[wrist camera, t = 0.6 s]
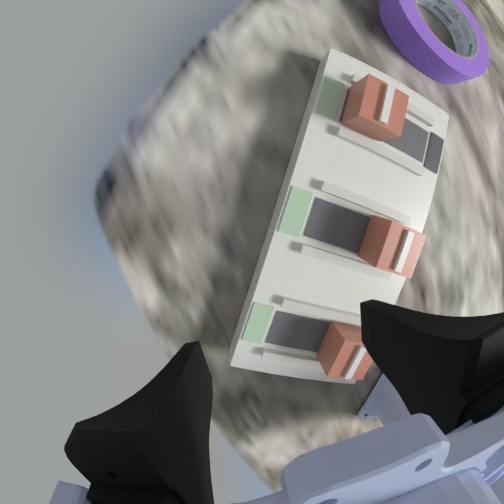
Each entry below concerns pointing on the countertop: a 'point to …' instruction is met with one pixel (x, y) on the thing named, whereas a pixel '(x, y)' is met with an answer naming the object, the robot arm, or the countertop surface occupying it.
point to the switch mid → (391, 246)
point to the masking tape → (428, 44)
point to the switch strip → (334, 223)
